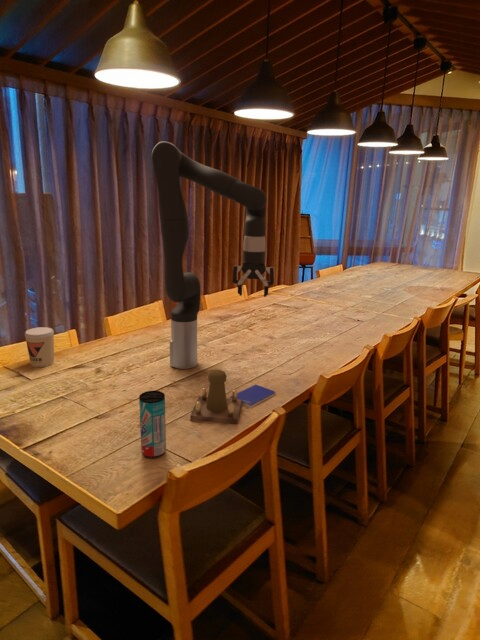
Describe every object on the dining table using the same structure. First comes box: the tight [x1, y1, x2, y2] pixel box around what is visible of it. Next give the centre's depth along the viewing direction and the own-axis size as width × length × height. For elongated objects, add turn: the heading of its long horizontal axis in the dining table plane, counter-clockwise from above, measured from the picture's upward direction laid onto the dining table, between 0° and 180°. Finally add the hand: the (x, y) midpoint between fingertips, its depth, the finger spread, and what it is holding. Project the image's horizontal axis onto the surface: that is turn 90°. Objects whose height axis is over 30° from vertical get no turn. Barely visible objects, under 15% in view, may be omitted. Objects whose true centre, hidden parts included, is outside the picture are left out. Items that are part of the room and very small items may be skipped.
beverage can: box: [138, 390, 167, 459], centre depth 107 cm, size 6×6×15 cm
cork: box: [206, 369, 227, 412], centre depth 128 cm, size 6×6×11 cm
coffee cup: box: [24, 326, 55, 368], centre depth 159 cm, size 9×9×12 cm
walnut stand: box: [189, 386, 243, 425], centre depth 129 cm, size 13×12×5 cm
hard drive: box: [229, 384, 276, 408], centre depth 140 cm, size 2×8×12 cm
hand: (252, 295), depth 158 cm, fingers open, 8 cm apart
